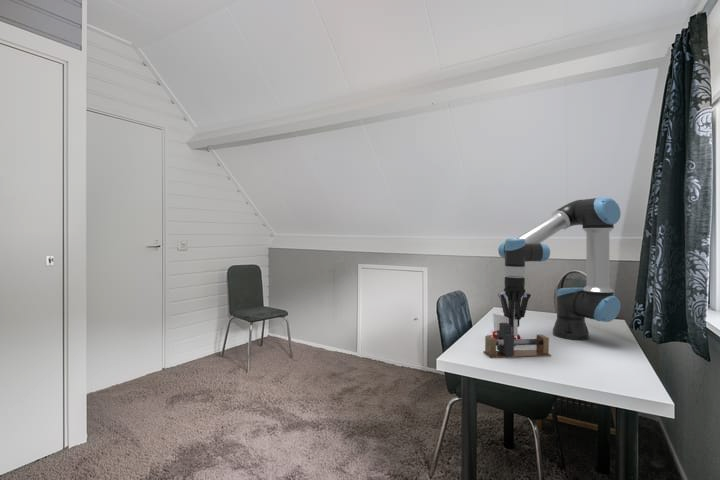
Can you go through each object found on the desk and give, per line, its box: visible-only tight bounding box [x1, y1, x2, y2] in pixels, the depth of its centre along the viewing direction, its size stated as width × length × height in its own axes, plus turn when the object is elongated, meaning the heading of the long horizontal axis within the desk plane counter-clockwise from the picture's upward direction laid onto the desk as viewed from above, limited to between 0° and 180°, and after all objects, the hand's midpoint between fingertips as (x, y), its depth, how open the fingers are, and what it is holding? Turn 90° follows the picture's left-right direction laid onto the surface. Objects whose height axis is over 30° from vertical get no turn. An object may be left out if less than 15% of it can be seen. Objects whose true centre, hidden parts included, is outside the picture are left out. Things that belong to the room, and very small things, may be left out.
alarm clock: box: [486, 330, 522, 347], centre depth 166 cm, size 10×6×15 cm
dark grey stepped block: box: [496, 323, 515, 356], centre depth 150 cm, size 3×8×12 cm, turn 5°
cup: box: [492, 310, 509, 332], centre depth 182 cm, size 10×10×10 cm
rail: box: [483, 333, 552, 359], centre depth 150 cm, size 25×7×7 cm, turn 95°
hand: (514, 334), depth 150 cm, fingers closed
